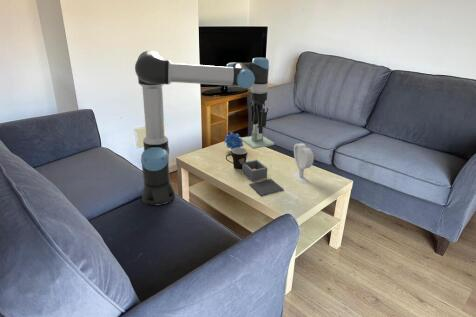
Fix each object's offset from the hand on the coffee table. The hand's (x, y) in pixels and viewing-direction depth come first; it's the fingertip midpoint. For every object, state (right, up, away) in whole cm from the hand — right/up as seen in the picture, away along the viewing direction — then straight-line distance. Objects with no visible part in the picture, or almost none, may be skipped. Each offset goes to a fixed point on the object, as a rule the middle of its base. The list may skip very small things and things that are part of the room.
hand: (257, 137), depth 172 cm
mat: (+4, -25, 0) cm, 26 cm away
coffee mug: (-11, -15, +20) cm, 27 cm away
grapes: (-12, -6, +39) cm, 42 cm away
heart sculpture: (+24, -21, +10) cm, 33 cm away
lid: (0, -2, +1) cm, 3 cm away
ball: (-1, -17, +10) cm, 20 cm away
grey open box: (-1, -20, +11) cm, 23 cm away
